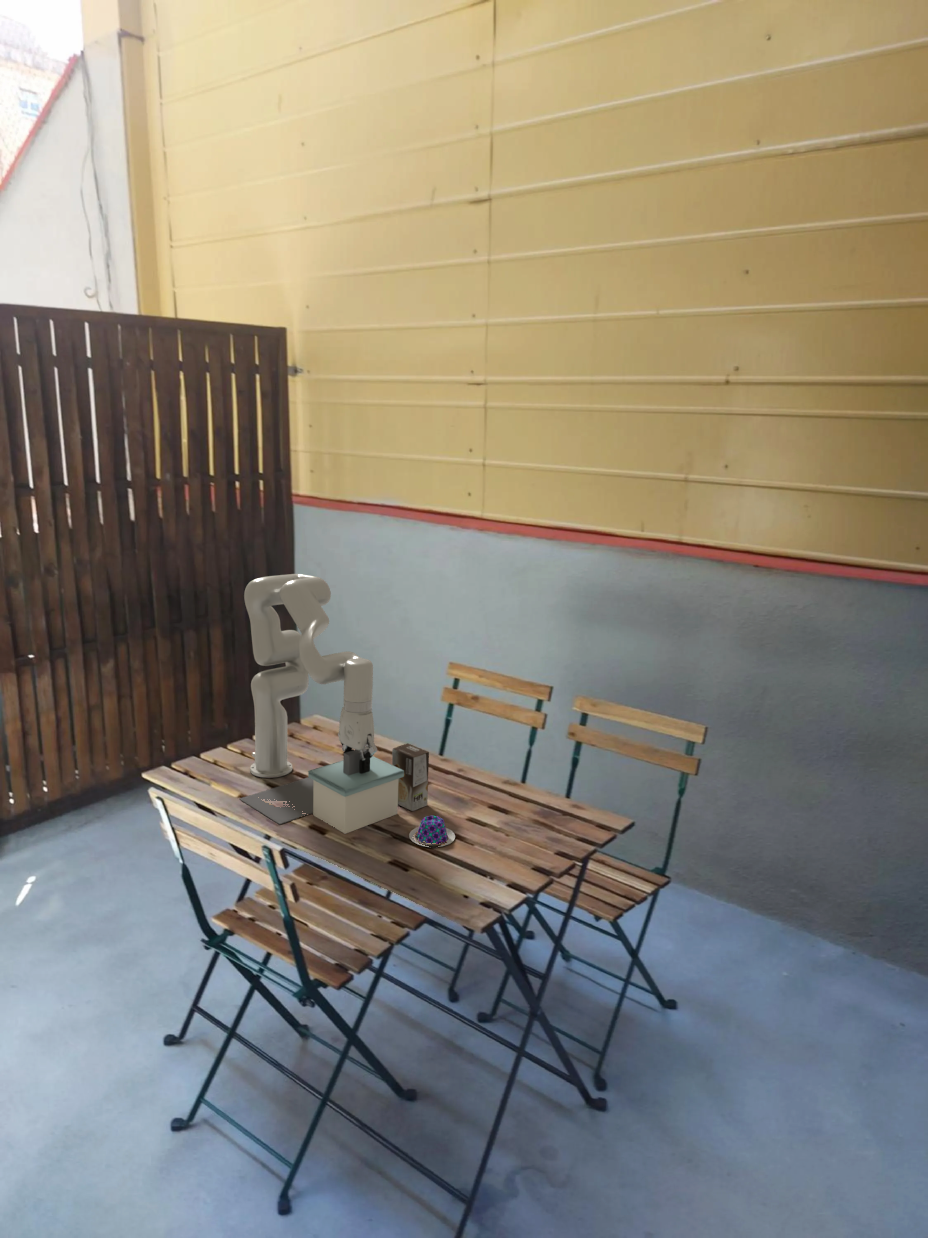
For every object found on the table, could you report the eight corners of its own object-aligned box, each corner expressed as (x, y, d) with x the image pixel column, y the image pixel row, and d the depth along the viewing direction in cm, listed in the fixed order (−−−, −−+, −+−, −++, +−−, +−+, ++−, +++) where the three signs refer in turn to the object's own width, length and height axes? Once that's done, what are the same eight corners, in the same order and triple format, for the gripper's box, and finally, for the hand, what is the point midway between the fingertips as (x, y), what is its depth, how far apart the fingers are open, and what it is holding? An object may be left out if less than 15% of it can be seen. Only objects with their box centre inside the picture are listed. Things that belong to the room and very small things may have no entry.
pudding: (411, 826, 222) (411, 808, 221) (456, 829, 222) (456, 811, 220) (406, 848, 210) (407, 829, 209) (454, 851, 210) (454, 832, 209)
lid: (308, 777, 222) (308, 751, 221) (366, 759, 237) (367, 735, 235) (344, 796, 212) (345, 770, 210) (403, 776, 226) (404, 751, 224)
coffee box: (428, 805, 234) (430, 751, 231) (412, 812, 230) (414, 757, 226) (406, 794, 240) (408, 742, 237) (389, 801, 236) (391, 748, 232)
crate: (313, 815, 225) (313, 773, 222) (365, 797, 238) (366, 757, 235) (344, 833, 215) (345, 791, 213) (397, 814, 228) (398, 773, 225)
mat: (239, 799, 232) (239, 798, 232) (310, 777, 249) (310, 776, 249) (279, 824, 219) (279, 823, 218) (352, 799, 235) (352, 798, 235)
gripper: (326, 699, 223) (326, 762, 227) (367, 716, 211) (365, 782, 215) (349, 694, 228) (347, 755, 232) (389, 710, 216) (388, 775, 220)
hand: (356, 768), depth 224 cm, fingers open, 6 cm apart
